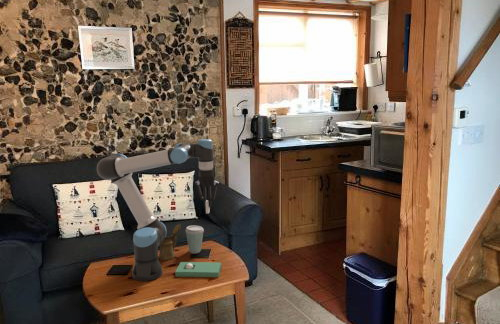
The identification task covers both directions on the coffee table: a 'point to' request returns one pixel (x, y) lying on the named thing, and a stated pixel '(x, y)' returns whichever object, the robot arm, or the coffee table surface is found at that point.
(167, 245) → the wooden mug
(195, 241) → the disposable coffee cup
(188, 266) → the ball
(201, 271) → the putting mat
